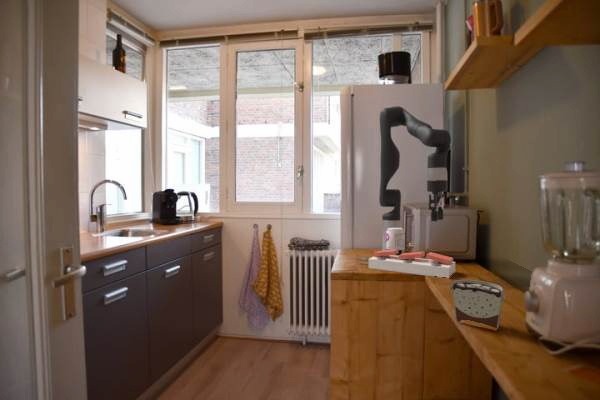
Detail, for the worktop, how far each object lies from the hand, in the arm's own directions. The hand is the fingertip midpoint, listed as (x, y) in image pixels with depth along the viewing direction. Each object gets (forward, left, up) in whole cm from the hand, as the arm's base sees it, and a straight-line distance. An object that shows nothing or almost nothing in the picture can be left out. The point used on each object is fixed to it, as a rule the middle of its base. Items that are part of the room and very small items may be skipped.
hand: (437, 220), depth 138 cm
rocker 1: (0, -21, -15) cm, 26 cm away
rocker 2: (0, +1, -15) cm, 15 cm away
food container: (+48, +21, -21) cm, 57 cm away
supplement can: (-15, -22, -21) cm, 34 cm away
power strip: (+1, -14, -21) cm, 25 cm away
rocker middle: (0, -10, -15) cm, 18 cm away
